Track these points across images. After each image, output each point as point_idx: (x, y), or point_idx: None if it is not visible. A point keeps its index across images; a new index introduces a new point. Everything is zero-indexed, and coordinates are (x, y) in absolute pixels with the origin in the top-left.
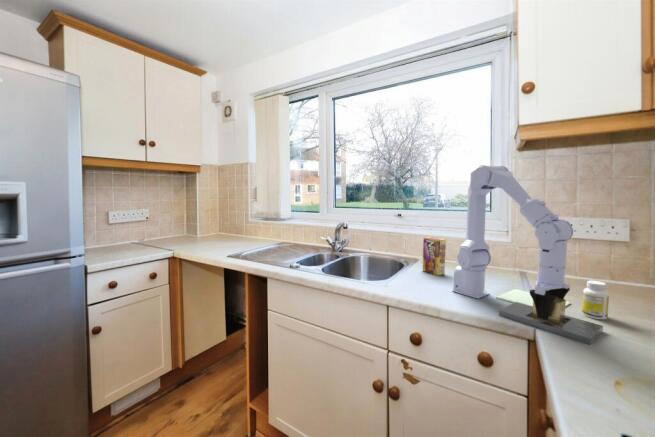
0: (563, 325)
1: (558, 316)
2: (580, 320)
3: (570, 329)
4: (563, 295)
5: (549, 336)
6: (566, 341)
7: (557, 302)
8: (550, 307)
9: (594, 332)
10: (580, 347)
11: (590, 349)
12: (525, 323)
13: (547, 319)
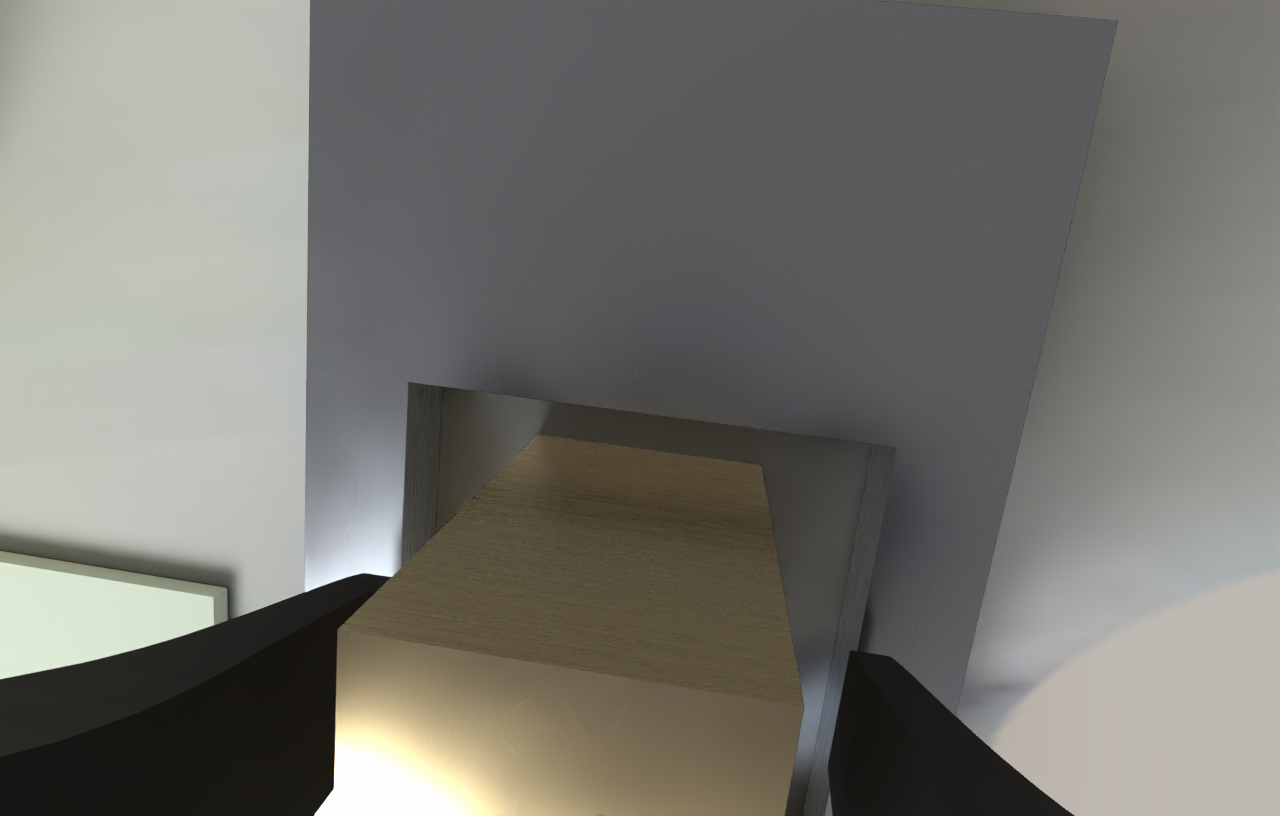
0: (802, 430)
1: (769, 551)
2: (353, 268)
3: (914, 323)
4: (117, 736)
5: (1142, 513)
6: (1170, 317)
7: (790, 769)
8: (1032, 805)
9: (754, 15)
10: (1272, 137)
11: (1250, 17)
12: None
13: (868, 653)
